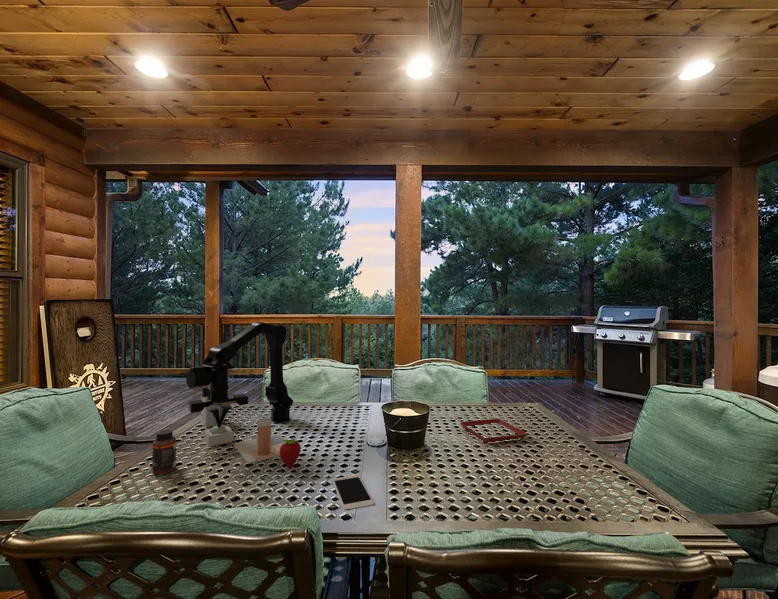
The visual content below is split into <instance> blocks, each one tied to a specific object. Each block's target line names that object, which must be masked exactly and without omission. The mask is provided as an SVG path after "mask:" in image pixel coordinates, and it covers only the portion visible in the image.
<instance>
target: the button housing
mask: <svg viewBox="0 0 778 599" xmlns="http://www.w3.org/2000/svg"><path fill="white" fill-rule="evenodd" d="M234 433H235V432H234V430H232V428H231V427H230V426H229V425H225V432H223V433H218V434H212V428H207V429H204V430H203V442H205V444H206V446H207V447H208V448H211V446H212V447H216V446H220V445H219V444H221V445H224V444H223V443H226V444H228V443H227V442H230V443H233V442H232V441H235V440H234V439H235V438H234V437H235V436H234V435H235V434H234ZM215 445H216V446H215Z"/></svg>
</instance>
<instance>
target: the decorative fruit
mask: <svg viewBox="0 0 778 599" xmlns="http://www.w3.org/2000/svg"><path fill="white" fill-rule="evenodd" d="M287 435H288V436H290V438H291V439H285V440H283V441H286V443H284V444H283V445H282V446H281V447H280V452H279V453H280V456H279V457H280V459H281V461H282V462H283V463H284V465H285V466H286V467H287V468H288V469H293V467H294V465H295V464H296V462H297V461H298V458H299V457H300V454H301V451H302V448H301V444H300V441H299V440H296V438H293V437H292V436H291V434H287Z"/></svg>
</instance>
